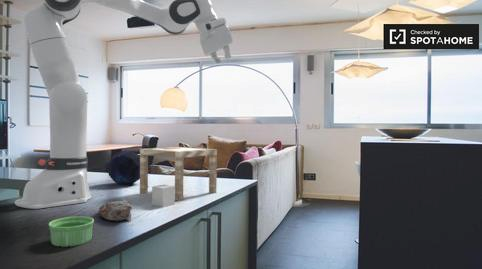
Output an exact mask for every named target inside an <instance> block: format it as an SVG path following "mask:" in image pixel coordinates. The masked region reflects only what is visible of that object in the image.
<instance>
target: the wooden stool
mask: <svg viewBox="0 0 482 269" xmlns="http://www.w3.org/2000/svg"><path fill="white" fill-rule="evenodd" d="M162 148H163V147H153V148H140V149H139V157H140V179H139V194H140V195H147V194H148V193H149V190H148V188H149V186H148V185H149V156H151V157H152V156H153V157H163V158H164V157H166V158H174V186H175V202H176V201H177V202H181V201H183V200H184V168H185V167H184V166H185V165H184V163H185V161H184V160H185V159H184V158H195V157H196V158H197V157H203V156H204V157H205V156H209V158H208V159H209V161H208V162H209V163H208V164H209V165H208V166H209V168H208V169H209V170H208V173H209V174H208V193H210V194H215V193H217V182H218V181H217V178H218V177H217V176H218V174H217V172H218V169H217V167H218V165H217V164H218V150H217V148H216V149H215V148H205V147H204V148H200V147H193V148H194V149H206V150H193V151H167V150H153V149H162ZM167 148H190V147H188V146H186V147H185V146H170V147H167Z"/></svg>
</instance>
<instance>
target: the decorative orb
mask: <svg viewBox="0 0 482 269" xmlns="http://www.w3.org/2000/svg"><path fill="white" fill-rule="evenodd" d="M107 171H108V176H109V177H110V179H111V180H112V181H113V182H114V183H115V184H117V185H121V186H128V185H133V184H135V183H136V182H138V181H140V154H138V153H136V152H132V151H130V150H123V151H122V150H121V151H119V152H117V153H116V154H115V155H112V156H111V158H110V160H109V162H108V164H107Z"/></svg>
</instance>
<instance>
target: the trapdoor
mask: <svg viewBox="0 0 482 269" xmlns="http://www.w3.org/2000/svg"><path fill="white" fill-rule="evenodd" d="M161 148H162V149H153V150H167V151H193V150H206V149H207V148H204V149H194V148H195V147H189V148H168V147H161Z"/></svg>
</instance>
